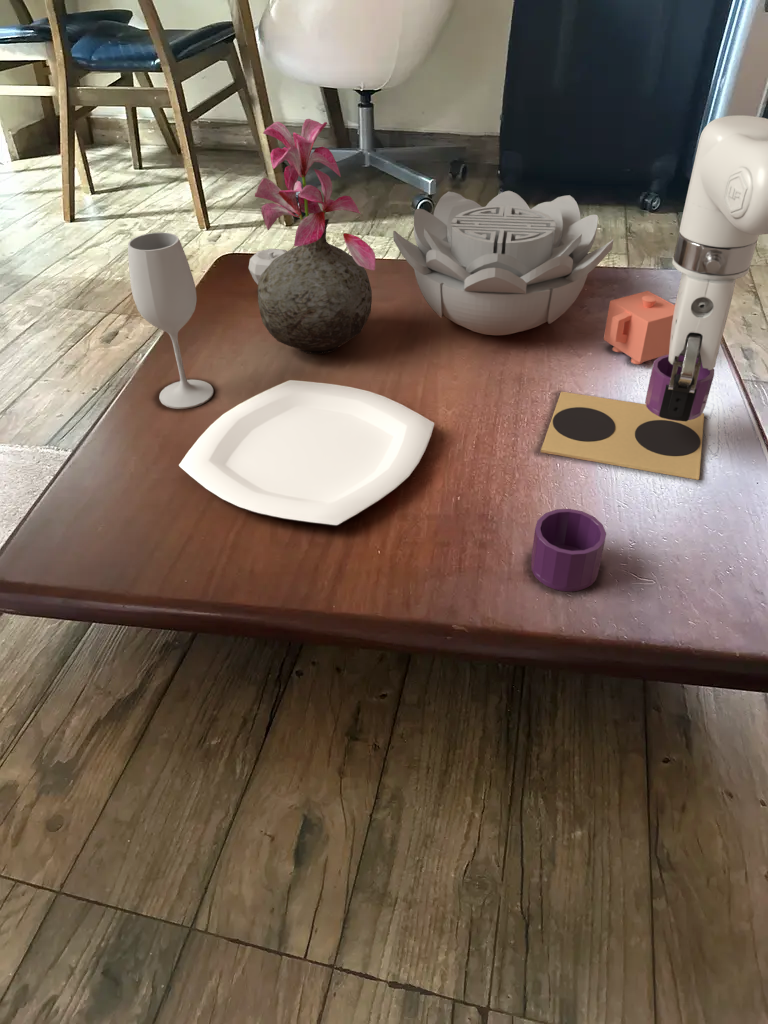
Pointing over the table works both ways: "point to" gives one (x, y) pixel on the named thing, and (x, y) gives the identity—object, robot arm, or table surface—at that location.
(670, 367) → the plum dish
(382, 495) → the plate
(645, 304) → the pink cube teapot
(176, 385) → the wineglass
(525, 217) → the decorative bowl
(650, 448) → the placemat
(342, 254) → the vase
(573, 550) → the plum dish
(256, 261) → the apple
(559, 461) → the table surface
